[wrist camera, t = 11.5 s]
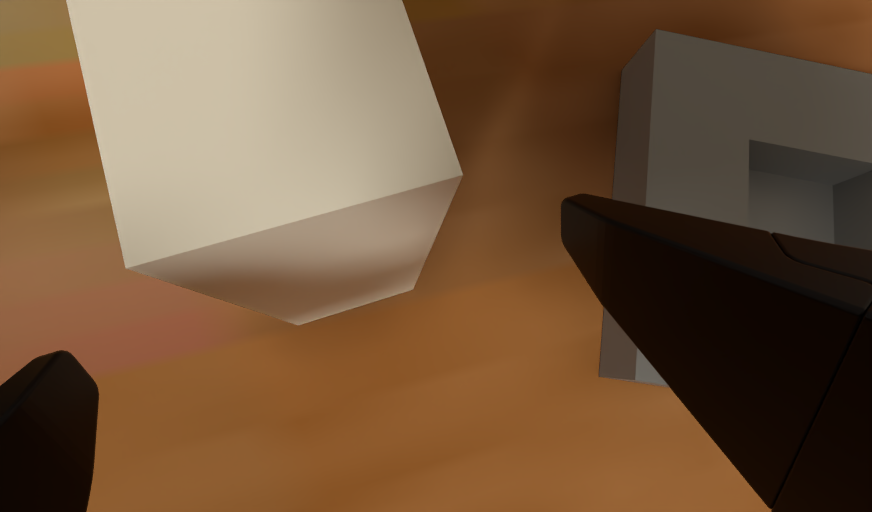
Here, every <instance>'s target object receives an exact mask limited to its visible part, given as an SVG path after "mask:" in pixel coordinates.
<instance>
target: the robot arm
mask: <svg viewBox="0 0 872 512" xmlns="http://www.w3.org/2000/svg"><path fill="white" fill-rule="evenodd" d="M561 238H562V242H563V244H564V246H565V248H566V250H567V251H568V253H569V254H570V256H571V258H572V259H573V261H574V262H575V264H576V265H577V267H578V269H579V270H580V272H581V273H582V275H583V276H584V278H585V279H586V281H587V283H588V284H589V286H590V287H591V289H592V290H593V292H594V294H595V295H596V296H597V298H598V299H599V301H600V302H601V304H602V305H603V306H604V308H605V309H606V310H607V311H608V313H609V314H610V315H611V316H612V318H613V319H614V320H615V321H616V322H617V324H618V325H619V326H620V327H621V328H622V330H623V331H624V332H625V333H626V335H627V336H628V337H629V338H630V339H631V341H632V342H633V343H634V344H635V346H636V347H637V348H638V349H639V350H640V352H641V353H642V354H643V355H644V357H645V358H646V359H647V360H648V361H649V363H650V364H651V365H652V366H653V368H654V369H655V370H656V371H657V372H658V374H659V375H660V376H661V377H662V378H663V380H664V381H665V382H666V383H667V385H668V386H669V387H670V388H671V389H672V391H673V392H674V393H675V394H676V396H677V397H678V398H679V399H680V400H681V402H682V403H683V404H684V405H685V407H686V408H687V409H688V410H689V411H690V413H691V414H692V415H693V416H694V417H695V419H696V420H697V421H698V422H699V424H700V425H701V426H702V427H703V428H704V430H705V431H706V432H707V433H708V435H709V436H710V437H711V438H712V439H713V441H714V442H715V443H716V444H717V446H718V447H719V448H720V449H721V450H722V452H723V453H724V454H725V455H726V456H727V458H728V459H729V460H730V461H731V463H732V464H733V465H734V466H735V467H736V469H737V470H738V471H739V472H740V474H741V475H742V476H743V477H744V478H745V480H746V481H747V482H748V483H749V485H750V486H751V487H752V488H753V489H754V491H755V492H756V493H757V494H758V496H759V497H760V498H761V499H762V500H763V502H764V503H765V504H766V505H767V506H768V508H770V509H772V510H771V511H772V512H872V250H868V249H862V248H856V247H850V246H844V245H838V244H832V243H827V242H821V241H816V240H811V239H806V238H800V237H795V236H790V235H786V234H781V233H776V232H773V233H771V234H770V232H769V231H765V230H761V229H756V228H751V227H746V226H741V225H736V224H731V223H726V222H721V221H716V220H711V219H707V218H702V217H697V216H692V215H687V214H682V213H677V212H672V211H667V210H662V209H658V208H653V207H648V206H643V205H638V204H633V203H628V202H623V201H618V200H613V199H608V198H604V197H599V196H594V195H589V194H578V195H574V196H571V197H568V198H565V199H564V200H563V201H562V204H561ZM98 402H99V392H98V387H97V385H96V383H95V381H94V380H93V379H92V377H91V376H90V375H89V374H88V373H87V372H86V370H85V369H84V368H83V367H82V366H81V364H80V363H79V362H78V361H77V360H76V358H75V357H74V356H73V355H72V354H71V353H69V352H68V351H63V350H60V351H56V352H53V353H49V354H46V355H43V356H39V357H37V358H35V359H33V360H32V361H31V362H29V363H28V364H27V365H26V366H24V367H23V368H22V369H21V370H20V371H18V372H17V373H16V374H15V375H13V376H12V377H11V378H10V379H8V380H7V381H6V382H5V383H3V384H2V385H1V386H0V512H86V511H87V506H88V501H89V496H90V490H91V484H92V478H93V469H94V459H95V444H96V430H97V416H98Z"/></svg>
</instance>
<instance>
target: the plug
mask: <svg viewBox="0 0 872 512" xmlns="http://www.w3.org/2000/svg"><path fill="white" fill-rule="evenodd" d="M66 1H67V6H68V10H69V15H70V19H71V24H72V28H73V33H74V37H75V42H76V46H77V51H78V55H79V60H80V64H81V69H82V73H83V78H84V82H85V87H86V91H87V96H88V100H89V105H90V110H91V114H92V119H93V123H94V128H95V132H96V137H97V141H98V146H99V150H100V155H101V159H102V164H103V168H104V173H105V177H106V182H107V186H108V191H109V195H110V200H111V204H112V209H113V213H114V218H115V222H116V227H117V231H118V236H119V240H120V245H121V249H122V254H123V258H124V263H125V267H126V269H129V270H132V271H135V272H138V273H141V274H144V275H147V276H150V277H153V278H156V279H159V280H162V281H165V282H168V283H171V284H175V285H178V286H181V287H184V288H187V289H190V290H193V291H196V292H199V293H202V294H205V295H208V296H211V297H214V298H217V299H220V300H223V301H226V302H229V303H232V304H235V305H238V306H241V307H244V308H247V309H250V310H253V311H256V312H259V313H262V314H265V315H268V316H271V317H274V318H277V319H280V320H283V321H286V322H289V323H292V324H295V325H301V324H304V323H308V322H311V321H314V320H317V319H320V318H324V317H327V316H330V315H333V314H336V313H340V312H343V311H346V310H349V309H353V308H356V307H359V306H362V305H365V304H369V303H372V302H375V301H378V300H381V299H385V298H388V297H391V296H394V295H397V294H401V293H404V292H407V291H410V290H413V288H414V286H415V284H416V281H417V279H418V277H419V275H420V272H421V270H422V268H423V265H424V263H425V261H426V259H427V256H428V254H429V252H430V249H431V247H432V245H433V243H434V240H435V238H436V236H437V234H438V231H439V229H440V227H441V224H442V222H443V220H444V218H445V215H446V213H447V211H448V208H449V206H450V204H451V202H452V199H453V197H454V195H455V192H456V190H457V188H458V186H459V183H460V181H461V179H462V177H463V173H462V170H461V167H460V164H459V162H458V159H457V156H456V153H455V150H454V147H453V144H452V142H451V139H450V136H449V133H448V130H447V127H446V124H445V122H444V119H443V116H442V113H441V110H440V107H439V104H438V101H437V99H436V96H435V93H434V90H433V87H432V84H431V81H430V79H429V76H428V73H427V70H426V67H425V64H424V61H423V59H422V56H421V53H420V50H419V47H418V44H417V41H416V39H415V36H414V33H413V30H412V27H411V24H410V21H409V18H408V16H407V13H406V10H405V7H404V4H403V1H402V0H66Z"/></svg>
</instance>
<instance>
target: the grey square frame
mask: <svg viewBox="0 0 872 512" xmlns="http://www.w3.org/2000/svg"><path fill="white" fill-rule="evenodd" d="M612 199H613V200H618V201H623V202H628V203H633V204H638V205H643V206H648V207H653V208H658V209H662V210H667V211H672V212H677V213H682V214H687V215H692V216H697V217H702V218H707V219H711V220H716V221H721V222H726V223H731V224H736V225H741V226H746V227H751V228H756V229H761V230H765V231H769V232H770V234H771V233H773V232H776V233H781V234H786V235H790V236H795V237H800V238H806V239H811V240H816V241H821V242H827V243H832V244H838V245H844V246H850V247H856V248H862V249H868V250H872V74H869V73H864V72H860V71H855V70H850V69H845V68H840V67H836V66H831V65H826V64H821V63H816V62H812V61H807V60H802V59H797V58H792V57H788V56H783V55H778V54H773V53H769V52H764V51H759V50H754V49H749V48H745V47H740V46H735V45H730V44H725V43H721V42H716V41H711V40H706V39H701V38H697V37H692V36H687V35H682V34H678V33H673V32H668V31H663V30H658V29H656V30H655V31H654V32H653V33H652V34H651V36H650V37H649V38H648V39H647V40H646V42H645V43H644V44H643V45H642V46H641V48H640V49H639V50H638V51H637V52H636V54H635V55H634V56H633V57H632V58H631V60H630V61H629V62H628V63H627V64H626V66H625V67H624V68H623V69H622V74H621V88H620V101H619V114H618V128H617V141H616V154H615V168H614V181H613V194H612ZM599 377H605V378H611V379H618V380H624V381H631V382H637V383H644V384H650V385H656V386H663V387H669V386H668V385H667V383H666V382H665V381H664V380H663V378H662V377H661V376H660V375H659V374H658V372H657V371H656V370H655V369H654V368H653V366H652V365H651V364H650V363H649V361H648V360H647V359H646V358H645V357H644V355H643V354H642V353H641V352H640V350H639V349H638V348H637V347H636V346H635V344H634V343H633V342H632V341H631V339H630V338H629V337H628V336H627V335H626V333H625V332H624V331H623V330H622V328H621V327H620V326H619V325H618V324H617V322H616V321H615V320H614V319H613V318H612V316H611V315H610V314H609V313H608V311H607V310H606V309H605V308H604V314H603V328H602V341H601V354H600V368H599ZM669 388H670V387H669Z"/></svg>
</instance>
